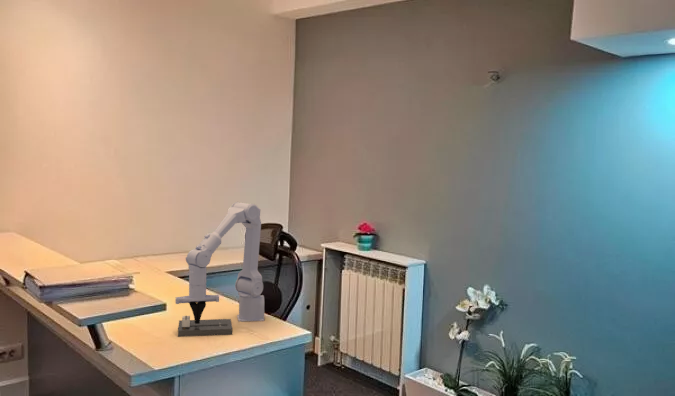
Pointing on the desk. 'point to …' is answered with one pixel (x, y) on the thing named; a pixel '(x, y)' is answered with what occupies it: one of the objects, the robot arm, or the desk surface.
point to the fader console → (206, 328)
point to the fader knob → (185, 321)
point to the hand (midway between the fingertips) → (197, 322)
